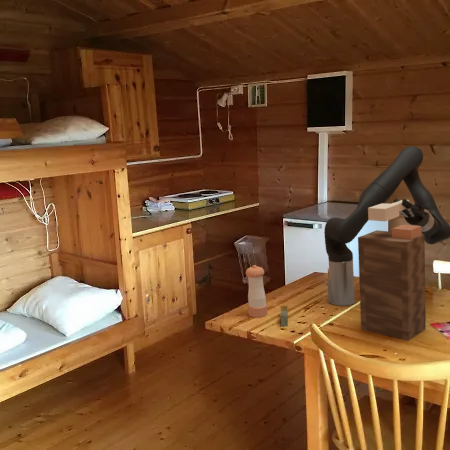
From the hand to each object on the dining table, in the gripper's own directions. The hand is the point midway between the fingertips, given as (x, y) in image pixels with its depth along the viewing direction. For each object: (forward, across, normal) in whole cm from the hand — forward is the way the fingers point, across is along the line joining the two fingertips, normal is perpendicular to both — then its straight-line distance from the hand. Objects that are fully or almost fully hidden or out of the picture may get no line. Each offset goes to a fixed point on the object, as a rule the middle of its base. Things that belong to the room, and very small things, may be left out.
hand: (399, 201), depth 184 cm
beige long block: (+2, 0, +6) cm, 6 cm away
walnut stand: (-12, +2, +41) cm, 43 cm away
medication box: (-1, -34, +48) cm, 59 cm away
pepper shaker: (0, -46, +48) cm, 67 cm away
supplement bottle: (-40, -42, +26) cm, 63 cm away
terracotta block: (+3, +7, +13) cm, 15 cm away
